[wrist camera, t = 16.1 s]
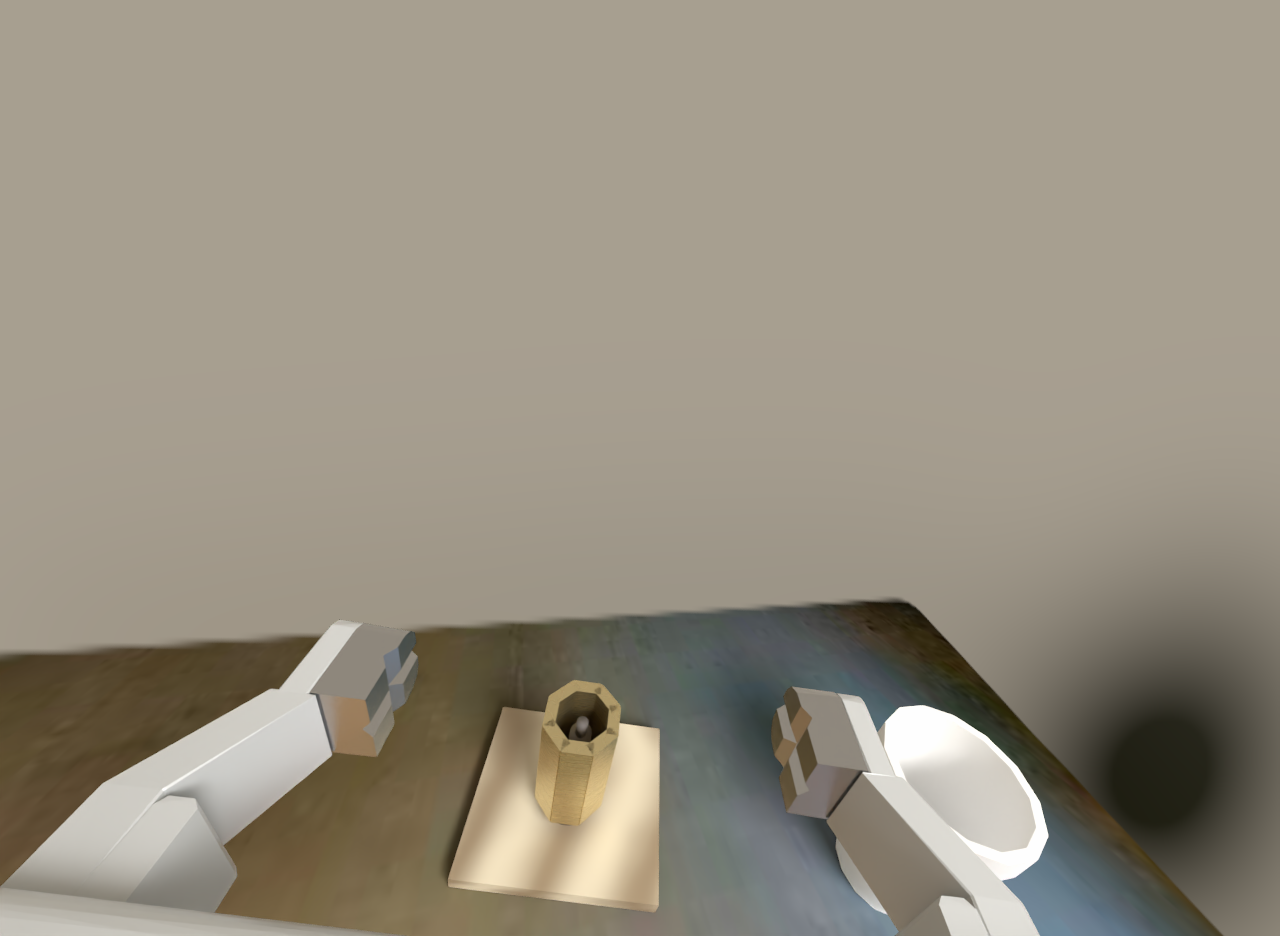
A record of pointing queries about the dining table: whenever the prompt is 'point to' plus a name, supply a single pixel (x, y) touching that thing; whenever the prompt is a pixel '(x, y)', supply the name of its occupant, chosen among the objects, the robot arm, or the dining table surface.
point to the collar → (576, 752)
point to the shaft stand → (558, 853)
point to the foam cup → (961, 791)
